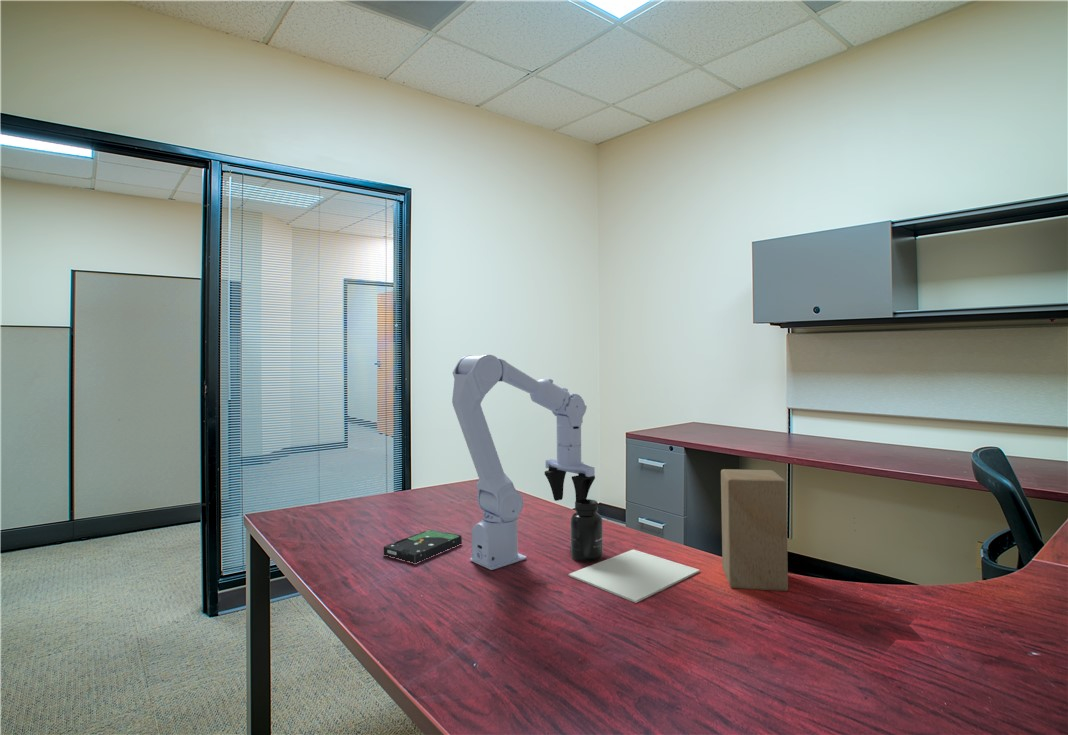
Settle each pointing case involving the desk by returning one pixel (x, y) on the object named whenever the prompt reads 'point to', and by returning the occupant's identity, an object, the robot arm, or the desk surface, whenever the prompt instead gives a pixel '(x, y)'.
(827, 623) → the desk surface
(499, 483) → the robot arm
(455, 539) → the disk drive
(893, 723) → the desk surface
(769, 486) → the wooden block
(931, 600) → the desk surface
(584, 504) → the supplement bottle
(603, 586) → the mat
